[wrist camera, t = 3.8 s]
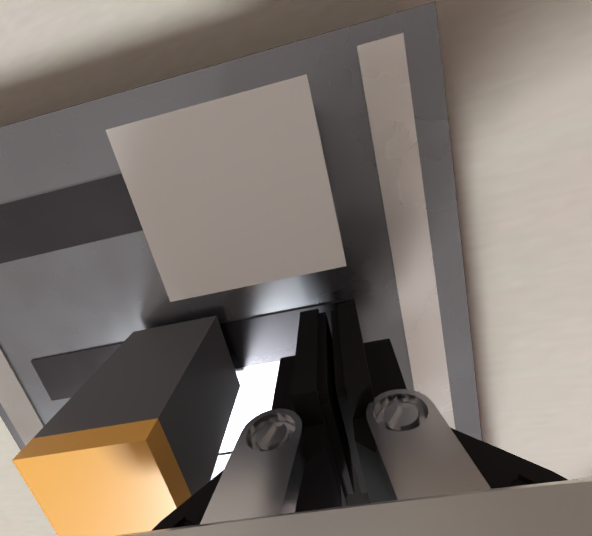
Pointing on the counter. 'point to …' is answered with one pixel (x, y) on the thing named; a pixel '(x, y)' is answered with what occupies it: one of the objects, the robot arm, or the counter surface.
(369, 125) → the panel
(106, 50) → the counter surface
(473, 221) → the counter surface
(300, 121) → the block
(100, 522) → the tripped breaker
